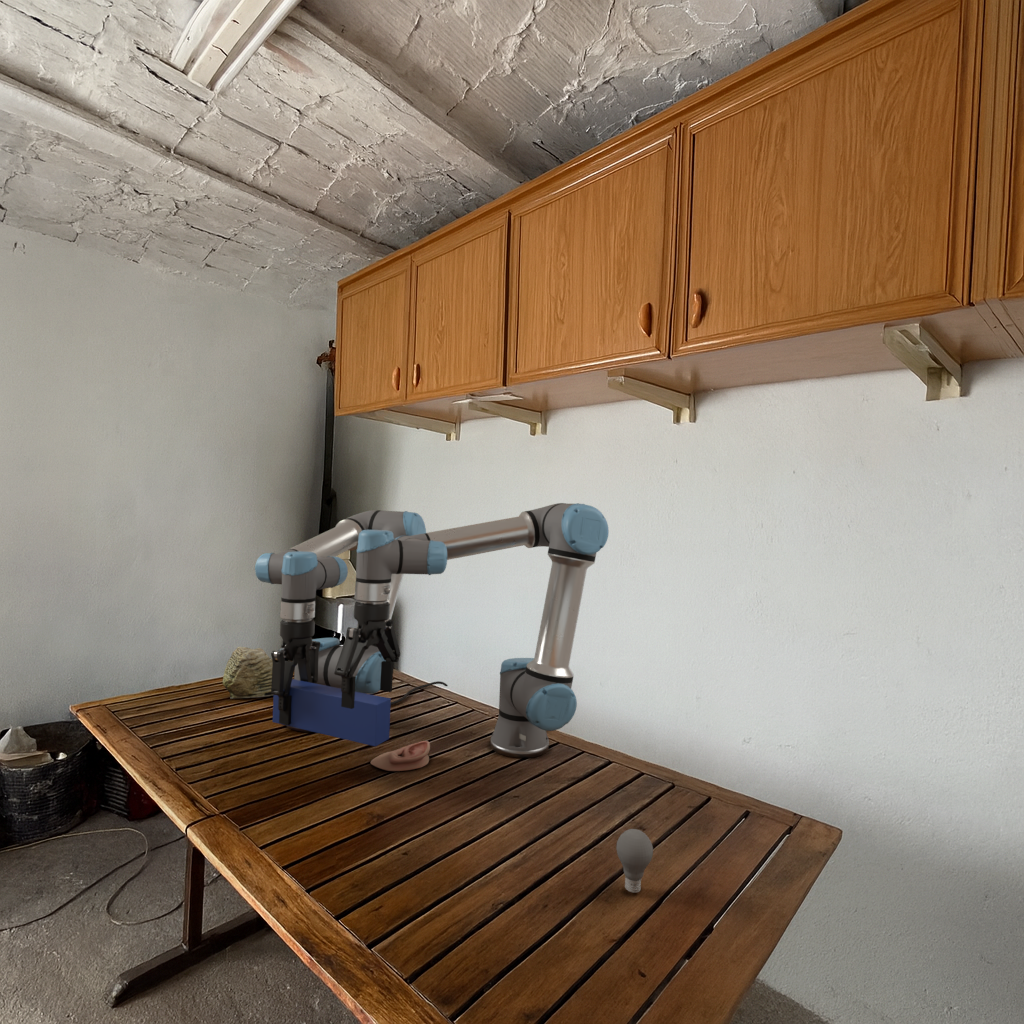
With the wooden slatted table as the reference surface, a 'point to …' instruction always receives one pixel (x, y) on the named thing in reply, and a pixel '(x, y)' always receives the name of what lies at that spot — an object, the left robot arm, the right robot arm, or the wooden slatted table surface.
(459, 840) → the wooden slatted table surface
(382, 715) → the bar
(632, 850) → the light bulb
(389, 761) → the anatomical model
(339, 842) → the wooden slatted table surface
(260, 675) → the fossil
